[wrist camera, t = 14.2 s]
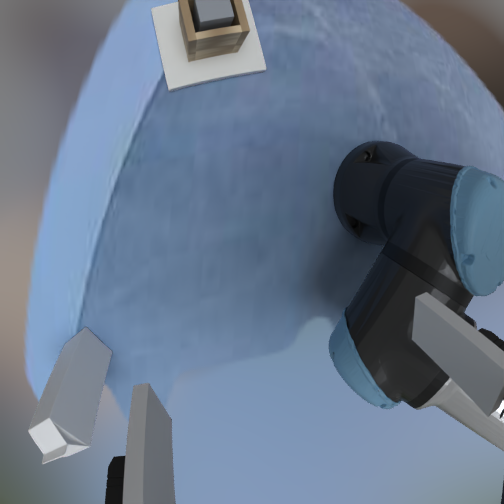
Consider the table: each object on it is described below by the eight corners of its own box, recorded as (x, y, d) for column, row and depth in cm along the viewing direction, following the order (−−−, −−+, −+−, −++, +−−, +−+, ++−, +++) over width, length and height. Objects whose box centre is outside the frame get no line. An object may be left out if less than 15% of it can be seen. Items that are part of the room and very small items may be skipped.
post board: (243, -5, 30) (261, -43, 20) (263, 71, 34) (289, 49, 24) (152, 12, 28) (142, -25, 19) (169, 91, 33) (162, 73, 23)
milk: (65, 343, 41) (19, 449, 21) (86, 325, 41) (40, 438, 21) (91, 367, 43) (61, 477, 23) (113, 351, 43) (86, 468, 23)
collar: (227, 12, 29) (237, -16, 22) (237, 52, 31) (250, 30, 24) (179, 21, 29) (177, -7, 21) (188, 62, 31) (188, 41, 23)
